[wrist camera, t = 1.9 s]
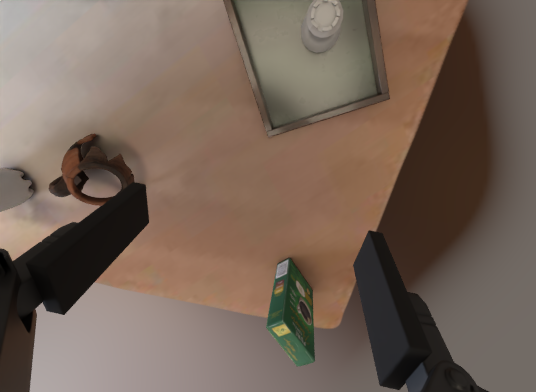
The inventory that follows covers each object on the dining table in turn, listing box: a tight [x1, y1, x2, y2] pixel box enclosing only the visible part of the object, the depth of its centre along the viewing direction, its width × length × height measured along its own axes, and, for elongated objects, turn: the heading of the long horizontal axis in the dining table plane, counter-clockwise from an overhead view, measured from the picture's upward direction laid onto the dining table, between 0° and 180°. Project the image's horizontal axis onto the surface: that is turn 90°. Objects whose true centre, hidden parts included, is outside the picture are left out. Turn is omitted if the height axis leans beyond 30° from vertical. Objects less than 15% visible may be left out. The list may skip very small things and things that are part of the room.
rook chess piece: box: [301, 0, 343, 53], centre depth 26 cm, size 4×4×8 cm
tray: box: [223, 0, 390, 137], centre depth 29 cm, size 20×15×2 cm
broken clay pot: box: [49, 134, 134, 206], centre depth 38 cm, size 12×10×8 cm
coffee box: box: [266, 258, 315, 366], centre depth 38 cm, size 8×3×13 cm, turn 33°
